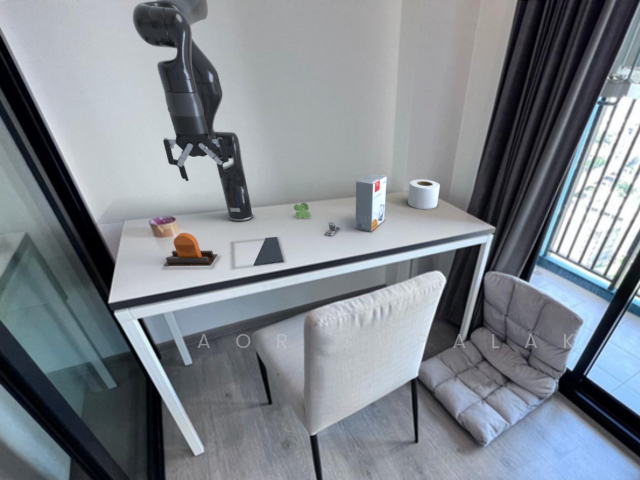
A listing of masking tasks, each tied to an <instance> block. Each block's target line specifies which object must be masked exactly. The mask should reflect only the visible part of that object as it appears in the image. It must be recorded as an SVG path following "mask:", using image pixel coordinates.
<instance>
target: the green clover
mask: <svg viewBox="0 0 640 480" xmlns="http://www.w3.org/2000/svg"><path fill="white" fill-rule="evenodd" d="M309 208H310V207H309V205H308V203H306V202H301V203H300V204H298V203H296V204H294V205H293V210H294V211H296V212H295V214H294V215H295V217H296V218H297V219H302V218H303V219H305V220H306V219H309V218H310V217H311V216H312V214H311V212H310V211H308V210H309Z"/></svg>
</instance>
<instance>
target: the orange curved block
mask: <svg viewBox="0 0 640 480" xmlns="http://www.w3.org/2000/svg"><path fill="white" fill-rule="evenodd" d="M173 246H174V248H175V251H177V254H178V257H202V255H201V251H202V250H201V248H200V245H199V242H198V239H197V238H196V237H195V236H194V235H193V234H191V233H188V232H181V233H178V234H177V236H176V237H175V238H174V239H173Z"/></svg>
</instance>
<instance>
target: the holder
mask: <svg viewBox="0 0 640 480" xmlns="http://www.w3.org/2000/svg"><path fill="white" fill-rule="evenodd" d="M200 251H201V255H202V257H178V254H177V251H176V250H172V251H171V254H172V255H171V256H166V257H165V260H166V262H165V263H164V264H163V265H162V266H163V267H210V266H212V264H213V263H214V261H215V260H216V258H217V257H218V255H219V254H218V253H214V251H213V250H200Z"/></svg>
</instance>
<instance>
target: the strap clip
mask: <svg viewBox="0 0 640 480" xmlns="http://www.w3.org/2000/svg"><path fill="white" fill-rule="evenodd" d="M328 228H329V229H328V230H326V231H325V233H324V234H325V236H327V237H328V236H329V237H331V236H334V235H335V233H337V232H338V231H340V227H337V225H336V223H335V222H333V221H330V222H328Z"/></svg>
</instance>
